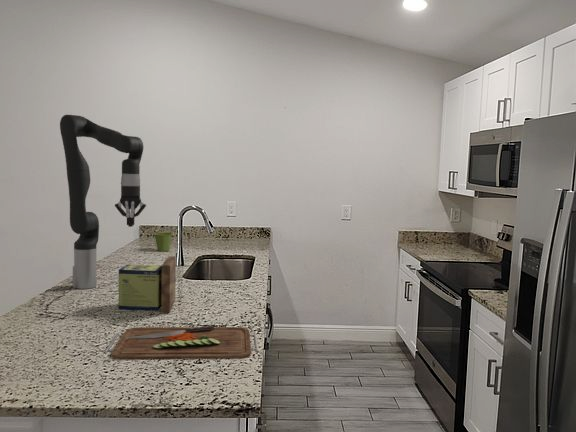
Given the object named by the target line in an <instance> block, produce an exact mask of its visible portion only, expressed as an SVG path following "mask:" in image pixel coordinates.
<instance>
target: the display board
mask: <svg viewBox="0 0 576 432" xmlns="http://www.w3.org/2000/svg"><path fill="white" fill-rule="evenodd" d="M176 264H177V256H176V255H172V256H169V255H168V256H167V257H166V259H165V260H164V262H163V263H162V264H161V266H162V298H161V308H160V310H161V311H160V312H161V314H170V313H171V311H172V309H173V306H174V304H175V301H176V276H177V275H176V273H177V272H176V268H177V265H176Z"/></svg>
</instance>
